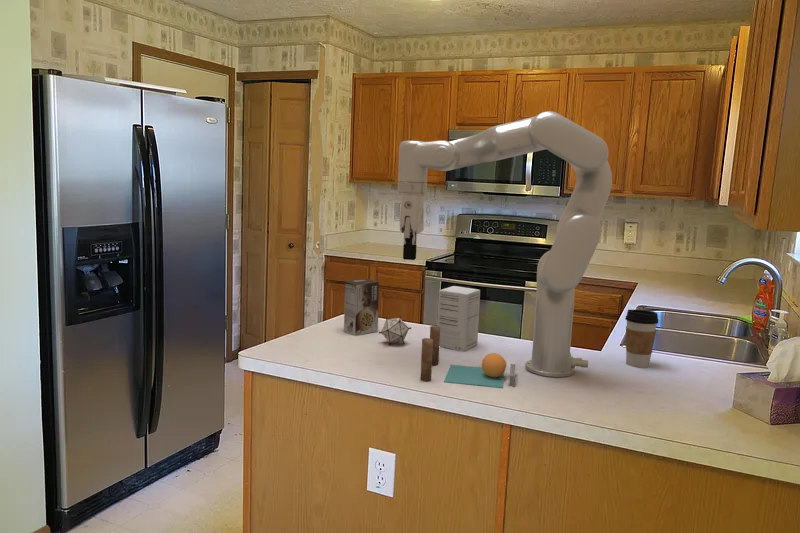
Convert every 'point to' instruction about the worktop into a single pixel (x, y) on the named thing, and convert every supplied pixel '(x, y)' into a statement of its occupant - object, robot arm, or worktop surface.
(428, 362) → the post near
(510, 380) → the stopper strip
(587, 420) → the worktop surface
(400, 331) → the game die
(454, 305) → the supplement box
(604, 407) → the worktop surface
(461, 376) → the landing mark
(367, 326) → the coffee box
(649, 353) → the coffee cup
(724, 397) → the worktop surface
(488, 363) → the ball
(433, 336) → the post far
